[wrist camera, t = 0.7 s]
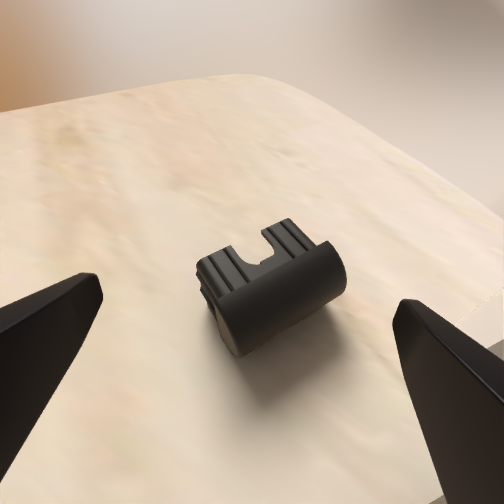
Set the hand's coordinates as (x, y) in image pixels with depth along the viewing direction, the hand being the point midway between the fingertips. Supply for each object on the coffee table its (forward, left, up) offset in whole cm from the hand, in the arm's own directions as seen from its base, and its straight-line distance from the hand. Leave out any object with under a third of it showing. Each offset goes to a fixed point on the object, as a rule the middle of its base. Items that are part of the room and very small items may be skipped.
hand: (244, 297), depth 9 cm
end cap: (+7, -4, -16) cm, 18 cm away
